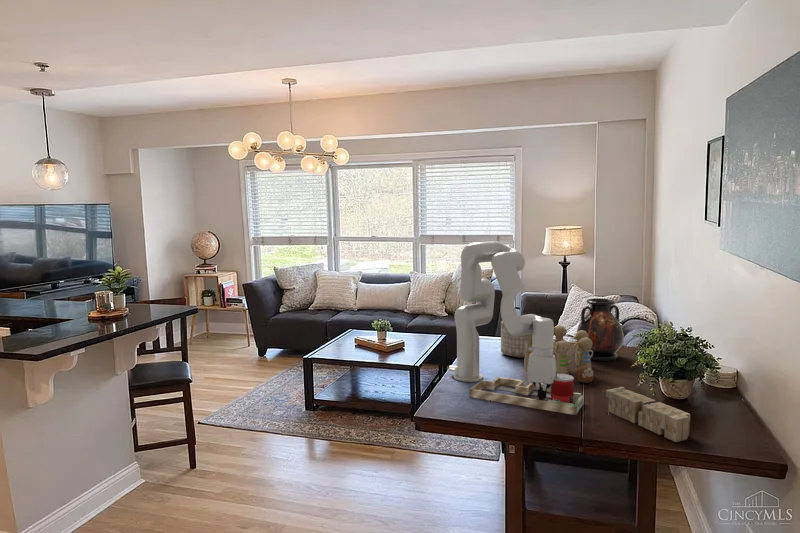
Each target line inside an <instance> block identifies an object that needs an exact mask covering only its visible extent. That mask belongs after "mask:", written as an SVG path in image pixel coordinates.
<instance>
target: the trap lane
mask: <svg viewBox="0 0 800 533" xmlns="http://www.w3.org/2000/svg"><path fill="white" fill-rule="evenodd" d="M543 384H544V383H541V387H542V388H543ZM484 389H486V390H492V391H486V390H484ZM495 390H496V391H501V392H502V391H503V392H504V391H505V392H509V393H515V394H516V395H512V394H504V393H500V392H494V391H495ZM468 395H469V398H472V397H473V398H474V399H481V400H484V399H485V400H486V401H490V400H491V402H496V401H497V402H498V403H503V404H507V405H514V406H520V407H526V408H532V409H537V410H545V411H549V412H556V413H561V414H568V415H573V416H577V414H578V413H579V411H580V409H581V408H582V407H583V405H584V399H585V398H584V395H582V393H579V392H574V398H573V404H572V403H566V402H559V401H553V400H551V387H549V388H548V389H547V391H546V398H545V399H547V400H539V399H535V398H529V397H523V396H535V397H537V389H536V387H535V386H534V385H533V384H531V383H529V384H528V385H526V386H525V380H521V379H516V378H515V379H514V378H509V377H500V376H497V377H496V378H494V380H492V381H490V380H484V379H482V380H480V381H477V383H476V384H474V385H473V386H472V387H470V389H469V394H468ZM517 395H523V396H517ZM485 400H484V401H485Z"/></svg>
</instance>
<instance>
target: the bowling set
mask: <svg viewBox="0 0 800 533" xmlns="http://www.w3.org/2000/svg"><path fill="white" fill-rule="evenodd" d="M567 333H568V332H567V329H566V328H565V327H564V326H562V325H557V326H554V338H553V355H554V356H555V359H556V367H557V374H568V375H570V374H569V372H570V366H569V363H571V362H572V355H571V354H570V353H567V352H569V351H570V350H571V346H572V344H571V343H569V342H568V341H566V340H565V339H564V337H565V336H566V335H567ZM524 336H525V337H526V338H527V339H528V343H527V344H526V345H525V349H524V351H525V352H526V353H525V358H524V360H523V361H524V363H523V365H524V371H525V372H526V374H527V370H528V361H529V356H530V354H531V353H532V352H531V351H530V350H528V348H529V347H532V334H529V335H524ZM588 337H589V335H588V333H587V332H586V331H584V330H580V331H578V332H577V331H576V333H575V336H574V339H575V340H576V341H578V342H576V343H574V344H573V347H572V350H573V351H574V352H575V353H574V354H575V356H574V360H575V361H574V362H575V364H576V366H577V367H578V368H577V370H576V373H575V376H576V378H577V380H578V381H579V382H580V383H583V384H588V383H591V382H592V381H593V380H594V378H595V372H594V370H593V368H592V362H591V361H592V360H590V358H591V357H592V356H593V351H592V350H589V349H590V348H591V347H592V344H593V342H592V341H591V340H590V339H589V338H588ZM526 346H527V348H526ZM589 351H591V352H592V354H591V356H590V354H589ZM568 357H569V360H568Z"/></svg>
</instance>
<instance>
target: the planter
mask: <svg viewBox="0 0 800 533" xmlns="http://www.w3.org/2000/svg"><path fill="white" fill-rule="evenodd" d="M527 343H528V339H527V338H526V337H525V336H519V337H515V336H512V335H511V334H510V333H509V332H508V331H507V329H506V327H505V325H504V322H503V320H501V321H500V352H501V353H502V354H504V355H507V356H510V357H513V358H517V357H519V358H518V359H521V358H522V359H525V353H526V352H525V351H524V349H525V345H526V344H527ZM526 348H527V346H526Z"/></svg>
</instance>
